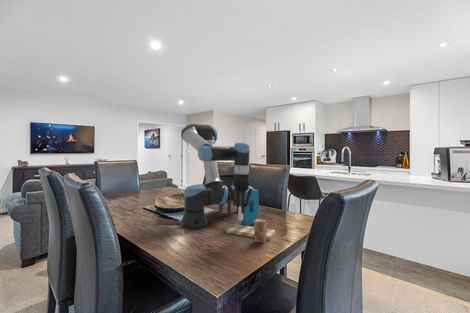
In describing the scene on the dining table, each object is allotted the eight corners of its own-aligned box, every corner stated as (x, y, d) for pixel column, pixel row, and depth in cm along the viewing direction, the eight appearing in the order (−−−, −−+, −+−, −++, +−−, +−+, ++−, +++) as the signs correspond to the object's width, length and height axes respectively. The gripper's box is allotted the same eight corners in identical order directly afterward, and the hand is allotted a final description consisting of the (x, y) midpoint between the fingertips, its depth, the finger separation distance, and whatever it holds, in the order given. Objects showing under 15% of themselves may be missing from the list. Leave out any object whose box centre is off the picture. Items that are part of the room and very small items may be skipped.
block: (243, 226, 132) (243, 192, 131) (238, 223, 136) (238, 190, 135) (259, 222, 139) (259, 190, 138) (253, 220, 143) (254, 189, 142)
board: (226, 232, 121) (226, 229, 121) (234, 226, 130) (234, 223, 130) (269, 240, 111) (269, 236, 111) (275, 233, 120) (275, 229, 120)
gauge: (253, 241, 109) (253, 221, 108) (261, 233, 120) (261, 215, 119) (263, 243, 107) (263, 222, 106) (270, 235, 117) (271, 216, 117)
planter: (210, 213, 157) (210, 176, 157) (226, 208, 174) (226, 173, 173) (234, 218, 147) (234, 178, 146) (248, 211, 163) (248, 175, 163)
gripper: (226, 173, 113) (225, 219, 114) (250, 175, 107) (249, 223, 108) (233, 171, 120) (232, 215, 121) (256, 173, 114) (255, 219, 115)
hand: (240, 219), depth 115 cm, fingers closed
